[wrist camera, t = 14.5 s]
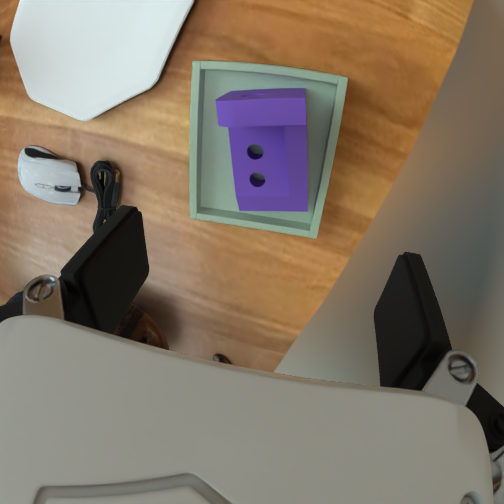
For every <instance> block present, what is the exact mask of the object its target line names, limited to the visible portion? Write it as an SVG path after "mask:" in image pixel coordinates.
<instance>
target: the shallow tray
mask: <svg viewBox="0 0 504 504" xmlns="http://www.w3.org/2000/svg"><path fill="white" fill-rule="evenodd" d="M347 82H348V78H347V77H346V76H342V75H337V74H331V73H326V72H320V71H315V70H308V69H302V68H295V67H288V66H280V65H271V64H262V63H250V62H237V61H218V60H195V61H193V62H192V81H191V107H190V164H189V183H190V218H192V219H198V220H204V221H211V222H217V223H224V224H230V225H237V226H243V227H249V228H256V229H262V230H268V231H274V232H280V233H286V234H292V235H298V236H304V237H310V238H317V234H318V229H319V225H320V221H321V216H322V212H323V207H324V203H325V198H326V194H327V189H328V184H329V180H330V175H331V170H332V165H333V160H334V155H335V150H336V145H337V140H338V134H339V129H340V123H341V118H342V112H343V106H344V101H345V95H346V89H347ZM274 88H306V113H307V152H308V212H291V211H239V207H238V203H237V199H236V194H235V185H234V177H233V168H232V159H231V150H230V141H229V132H228V127H221V126H219V125H218V119H217V111H216V102H215V99H217V98H219V97H221V96H222V95H224V94H226V93H228V92H230V91H238V90H252V89H274ZM249 149H250V150H251V151H252V152H253V153H255V154H263V149H262V147H261V146H260V145H257V144H252V145H250V146H249ZM252 176H253V177H254V178H256V179H258V180H265V177H264V175H263V174H261V173H258V172H256V173H253V174H252Z"/></svg>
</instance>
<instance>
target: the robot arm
mask: <svg viewBox="0 0 504 504" xmlns="http://www.w3.org/2000/svg"><path fill="white" fill-rule="evenodd" d="M60 272H61V276H60V277H59V278H57V277H56V276H53V275H41V276H39V277H36V278H34V279H33V280H32V281H30V282H29V283H28V284H27V286H26V287H25V289H24V293H23V298H22V299H19V300H16V301H13V302H11V303H8V304H5V305H3V306H0V504H504V407H503V406H502V405H501V404H500V403H499V402H498V401H497V400H495V399H494V398H493V397H492V396H491V395H490V394H489V393H488V392H487V391H486V390H485V389H484V388H482V387H481V386H480V385H479V384H478V383H477V382H478V378H479V369H478V366H477V363H476V362H475V360H474V359H473V358H472V357H471V356H470V355H469V354H468V353H466V352H464V351H461V350H452V347H451V344H450V340H449V336H448V333H447V330H446V326H445V323H444V320H443V316H442V313H441V310H440V307H439V304H438V301H437V298H436V296H435V293H434V290H433V287H432V284H431V281H430V279H429V276H428V273H427V270H426V268H425V265H424V262H423V260H422V257H421V255H419V254H415V253H410V252H405V253H404V254H403V255H399V256H398V258H397V260H396V263H395V265H394V267H393V270H392V272H391V274H390V277H389V279H388V281H387V284H386V286H385V288H384V290H383V292H382V295H381V297H380V299H379V301H378V303H377V305H376V308H375V310H374V323H375V332H376V341H377V350H378V361H379V373H380V387H378V386H369V385H360V384H351V383H342V382H334V381H326V380H318V379H311V378H304V377H297V376H291V375H285V374H279V373H273V372H267V371H261V370H256V369H250V368H245V367H240V366H235V365H230V364H225V363H221V362H216V361H211V360H207V359H202V358H198V357H194V356H190V355H185V354H181V353H177V352H173V351H169V350H165V349H161V348H158V347H154V346H150V345H147V344H143V343H139V342H136V341H132V340H129V339H125V338H122V337H119V336H115V335H113V333H114V332H115V330H116V328H117V326H118V325H119V323H120V321H121V320H122V318H123V316H124V314H125V313H126V311H127V309H128V308H129V306H130V304H131V303H132V301H133V299H134V298H135V296H136V294H137V293H138V291H139V289H140V288H141V286H142V285H143V283H144V281H145V280H146V278H147V276H148V274H149V264H148V257H147V250H146V243H145V236H144V228H143V219H142V213H141V212H140V211H138V209H137V207H133V206H126V205H122V206H120V207H119V208H118V209H117V210H116V211H115V212H114V213H113V214H112V215H111V216H110V217H109V218H108V219H107V220H106V221H105V222H104V223H103V224H102V226H101V227H100V228H99V229H98V230H97V231H96V232H95V233H94V234H93V235H92V236H91V237H90V238H89V239H88V240H87V242H86V243H85V244H84V245H83V246H82V247H81V248H80V249H79V250H78V251H77V253H76V254H75V255H74V256H73V257H72V258H71V259H70V261H69V262H68V263H67V264H66V265H65V266H64V267H63V269H62V270H61V271H60Z"/></svg>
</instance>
